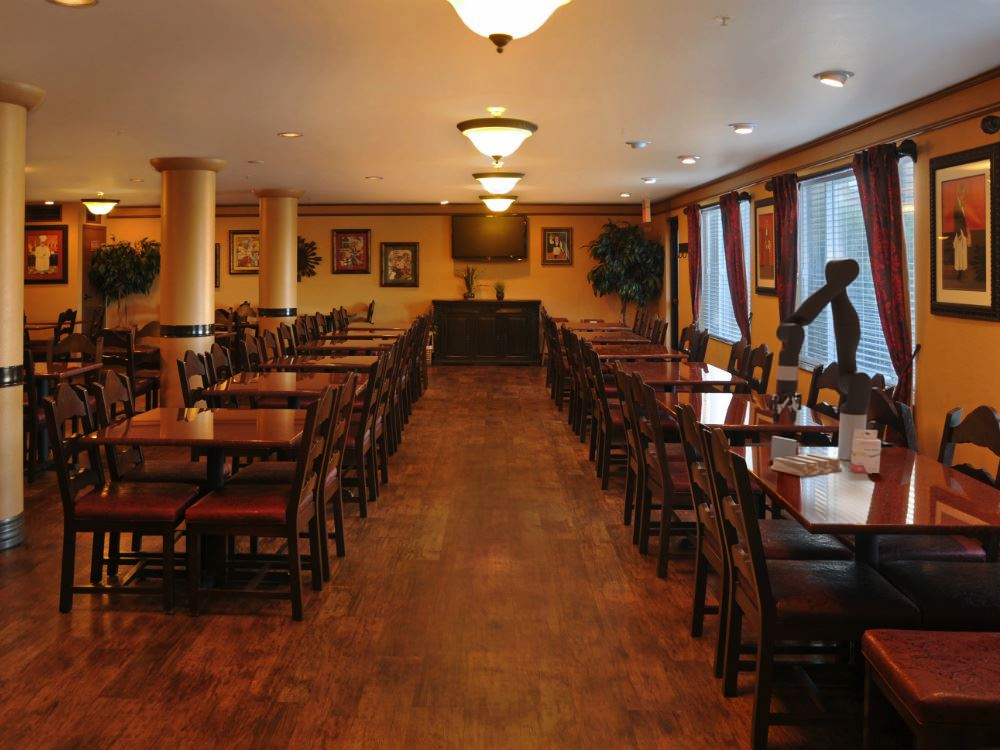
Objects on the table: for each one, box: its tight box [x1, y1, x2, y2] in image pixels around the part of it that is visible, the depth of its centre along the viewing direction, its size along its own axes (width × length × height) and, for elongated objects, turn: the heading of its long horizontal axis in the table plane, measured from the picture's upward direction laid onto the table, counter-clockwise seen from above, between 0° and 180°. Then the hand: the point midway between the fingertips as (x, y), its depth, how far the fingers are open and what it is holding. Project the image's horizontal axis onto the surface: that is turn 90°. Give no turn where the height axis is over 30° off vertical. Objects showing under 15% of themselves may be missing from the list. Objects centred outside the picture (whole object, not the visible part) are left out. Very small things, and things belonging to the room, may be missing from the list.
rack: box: [770, 453, 843, 477], centre depth 324 cm, size 20×14×4 cm
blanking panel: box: [770, 435, 797, 462], centre depth 336 cm, size 2×10×9 cm, turn 32°
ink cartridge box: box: [850, 429, 882, 474], centre depth 321 cm, size 9×5×15 cm, turn 84°
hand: (784, 422), depth 335 cm, fingers open, 8 cm apart
